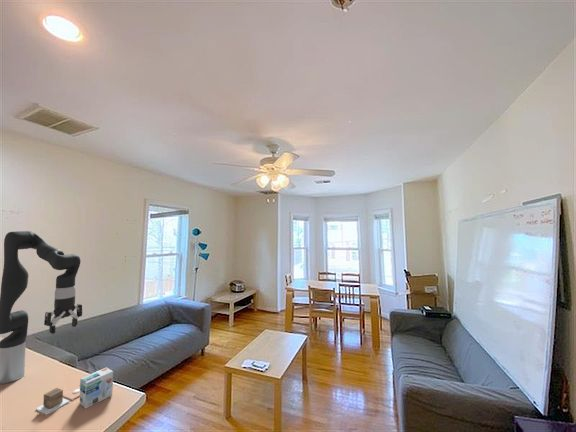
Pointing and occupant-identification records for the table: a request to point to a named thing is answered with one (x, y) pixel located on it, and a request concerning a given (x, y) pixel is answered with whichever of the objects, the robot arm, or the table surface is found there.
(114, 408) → the table surface
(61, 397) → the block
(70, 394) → the mug tile
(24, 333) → the robot arm
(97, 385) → the light bulb box
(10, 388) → the table surface
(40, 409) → the box tile
